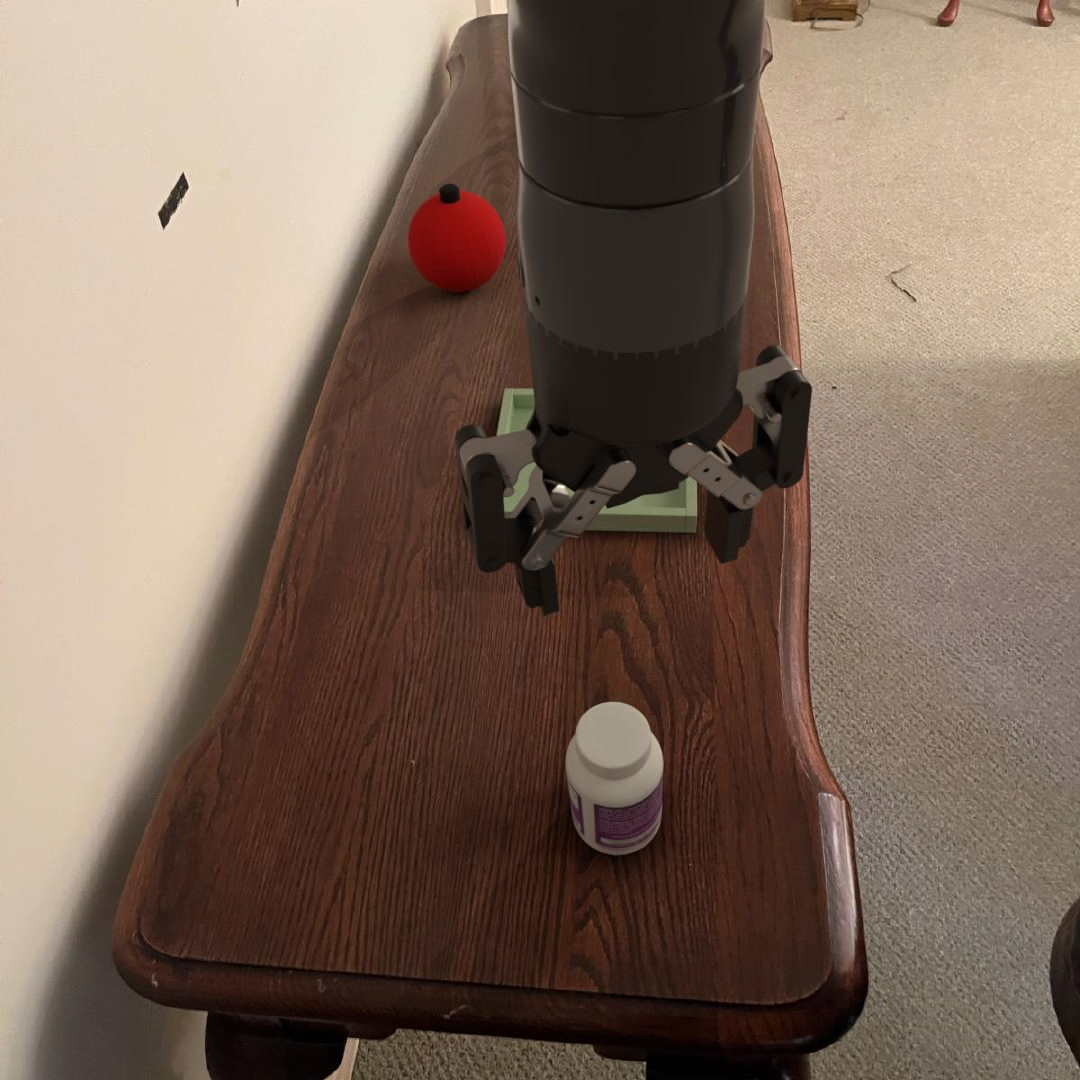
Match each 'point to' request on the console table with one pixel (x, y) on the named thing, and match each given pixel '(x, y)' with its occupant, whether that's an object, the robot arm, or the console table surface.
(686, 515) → the tray
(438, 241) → the ornament
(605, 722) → the pill bottle
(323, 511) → the console table surface
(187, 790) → the console table surface
